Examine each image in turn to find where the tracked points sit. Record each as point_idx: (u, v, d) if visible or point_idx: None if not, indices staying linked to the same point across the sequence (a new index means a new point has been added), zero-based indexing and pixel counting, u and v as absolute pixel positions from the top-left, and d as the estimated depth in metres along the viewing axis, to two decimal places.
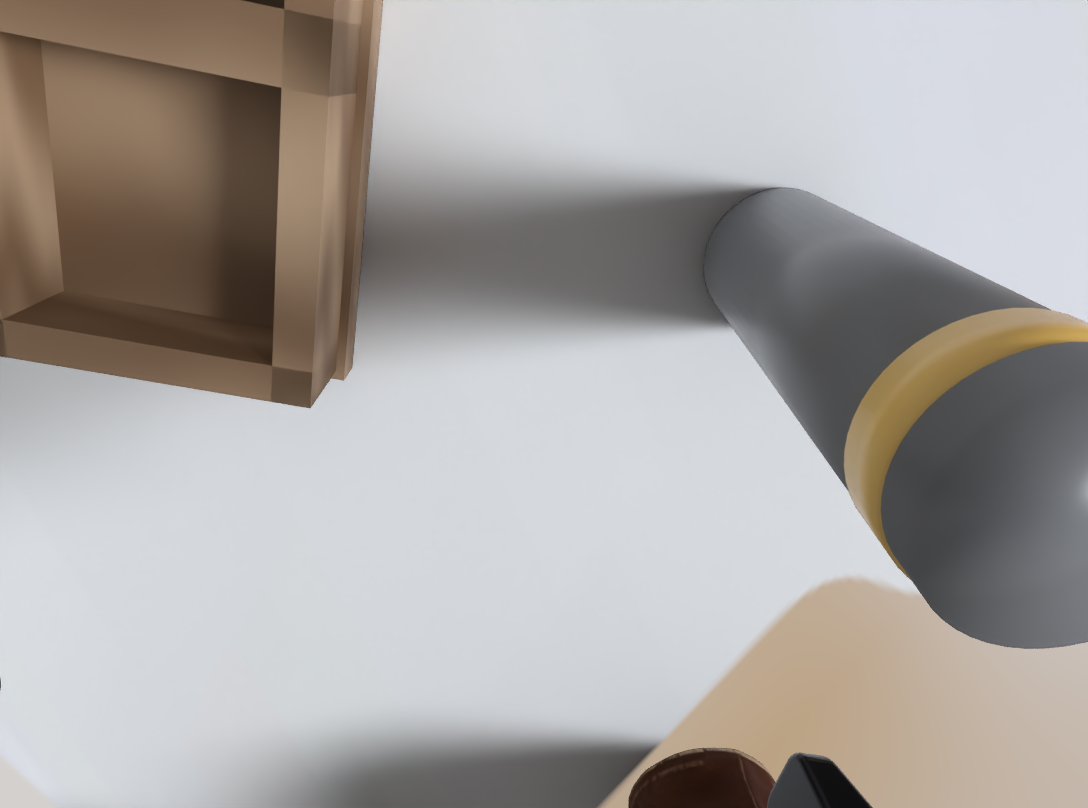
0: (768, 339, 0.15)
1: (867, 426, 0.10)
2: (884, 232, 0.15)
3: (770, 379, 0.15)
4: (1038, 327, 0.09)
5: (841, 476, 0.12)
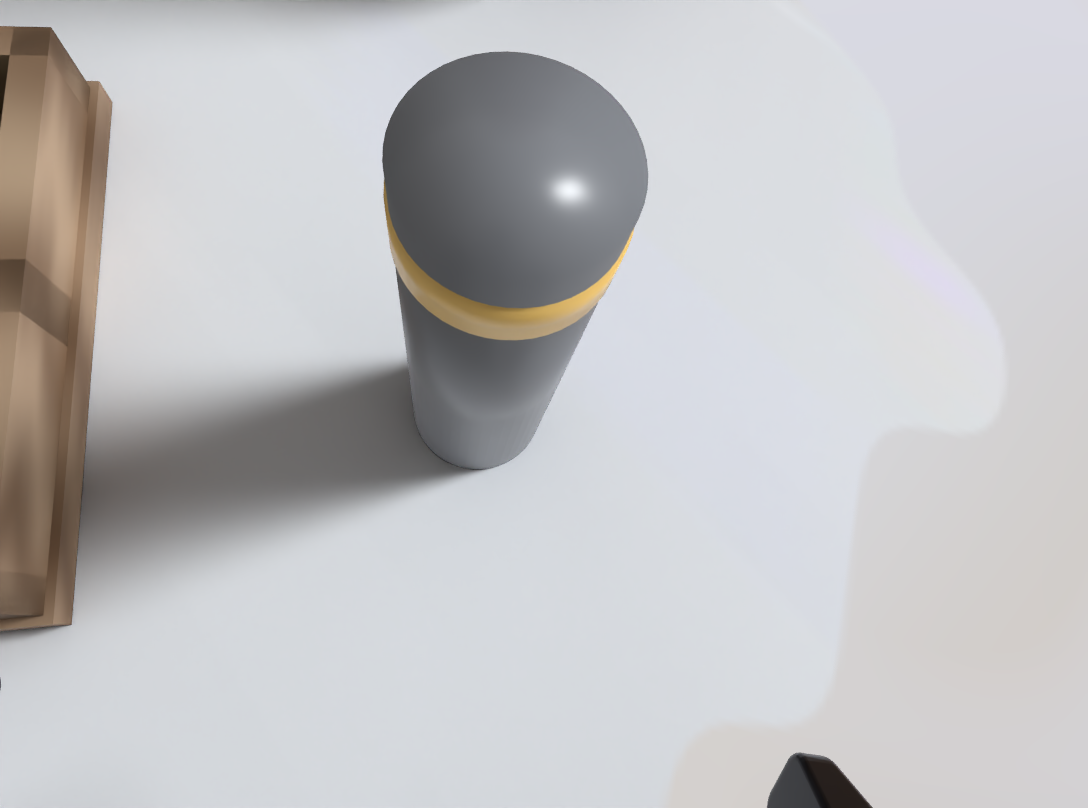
0: (406, 344, 0.17)
1: None
2: None
3: (427, 386, 0.17)
4: None
5: (419, 308, 0.13)
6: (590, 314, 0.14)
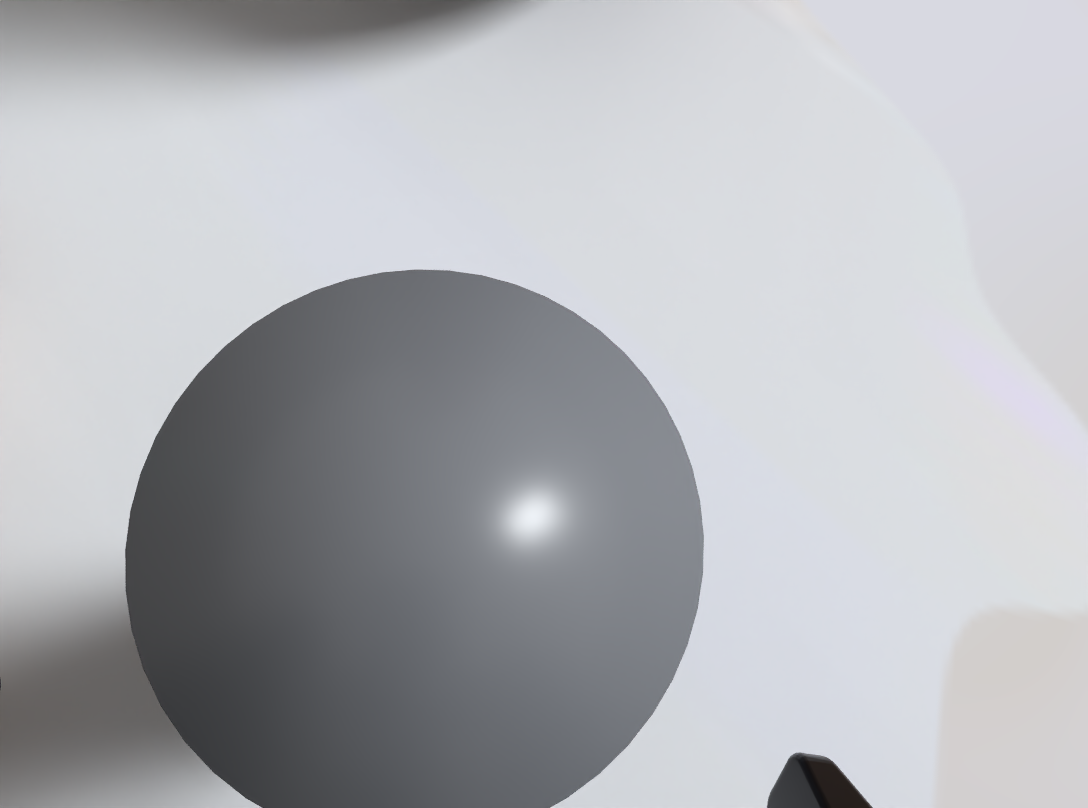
0: None
1: None
2: None
3: None
4: None
5: None
6: None
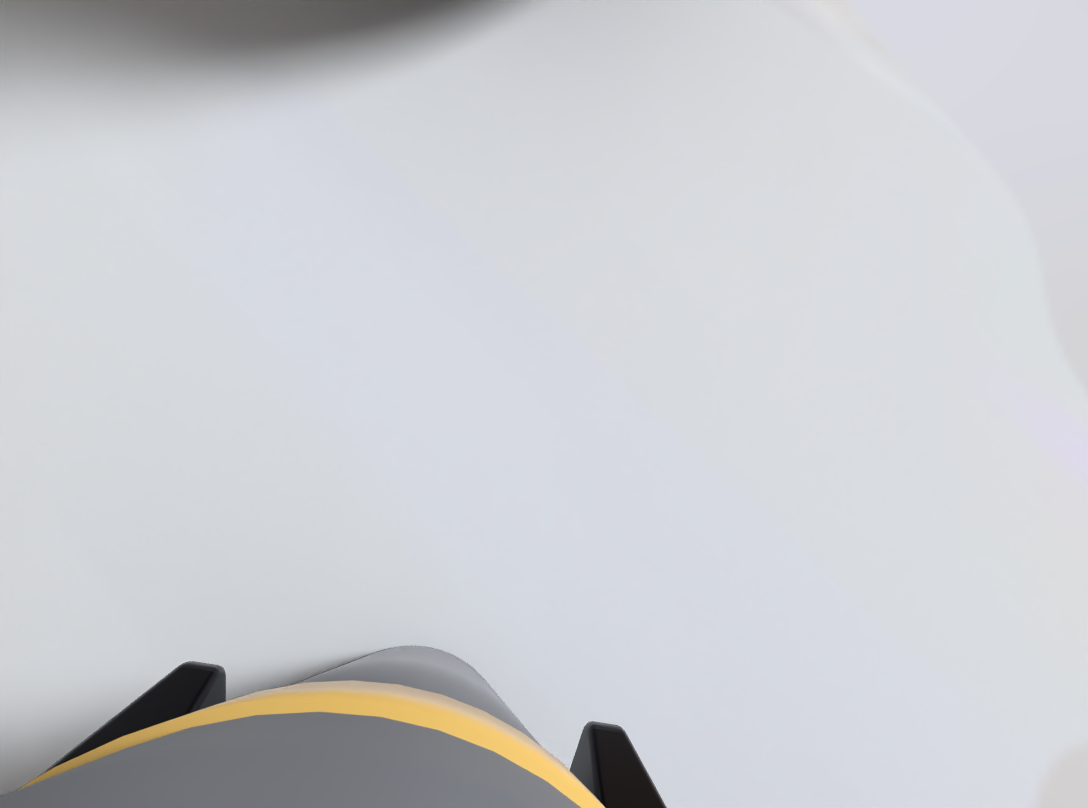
0: None
1: None
2: (374, 657, 0.09)
3: None
4: None
5: None
6: None
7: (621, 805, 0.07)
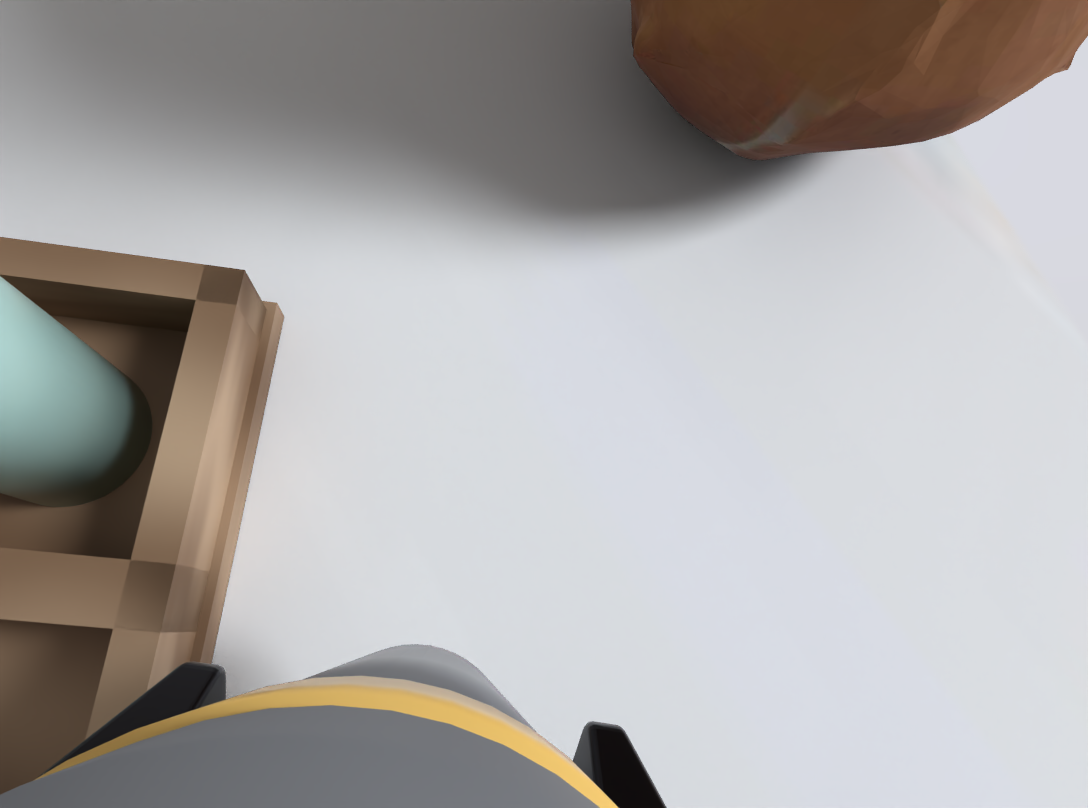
0: None
1: None
2: (378, 655, 0.09)
3: None
4: None
5: None
6: None
7: (621, 805, 0.07)
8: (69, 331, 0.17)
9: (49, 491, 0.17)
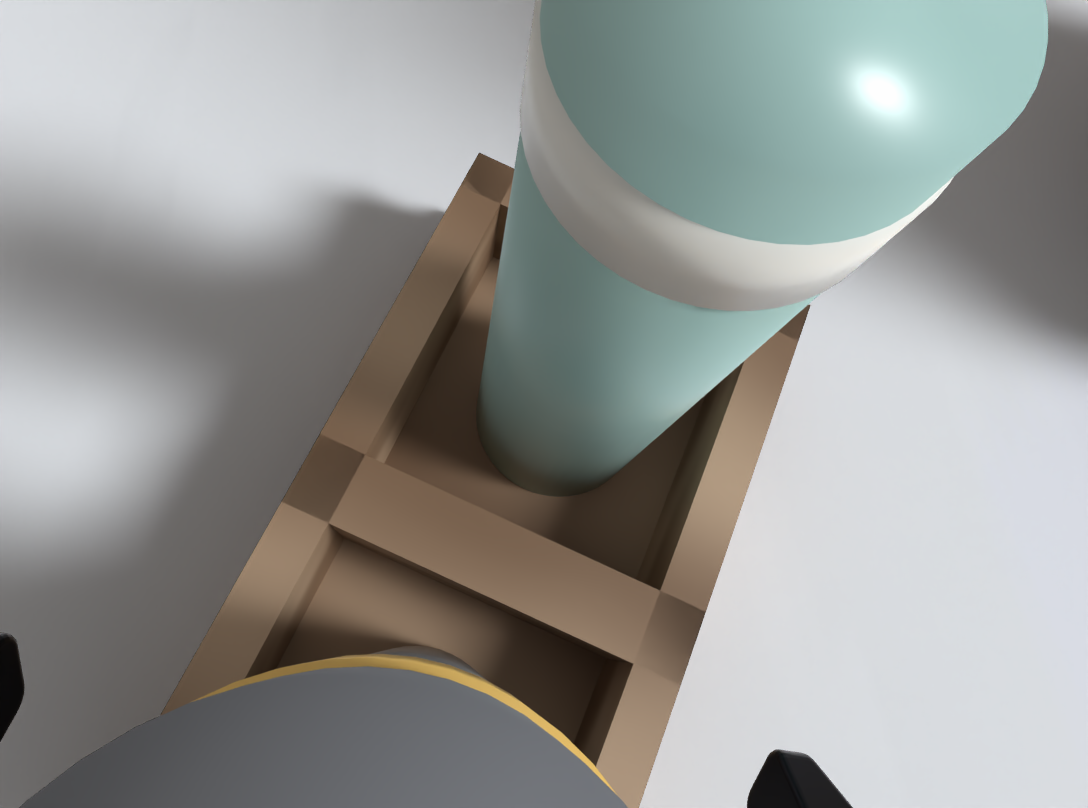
0: None
1: None
2: None
3: None
4: None
5: None
6: None
7: None
8: None
9: (569, 482, 0.16)
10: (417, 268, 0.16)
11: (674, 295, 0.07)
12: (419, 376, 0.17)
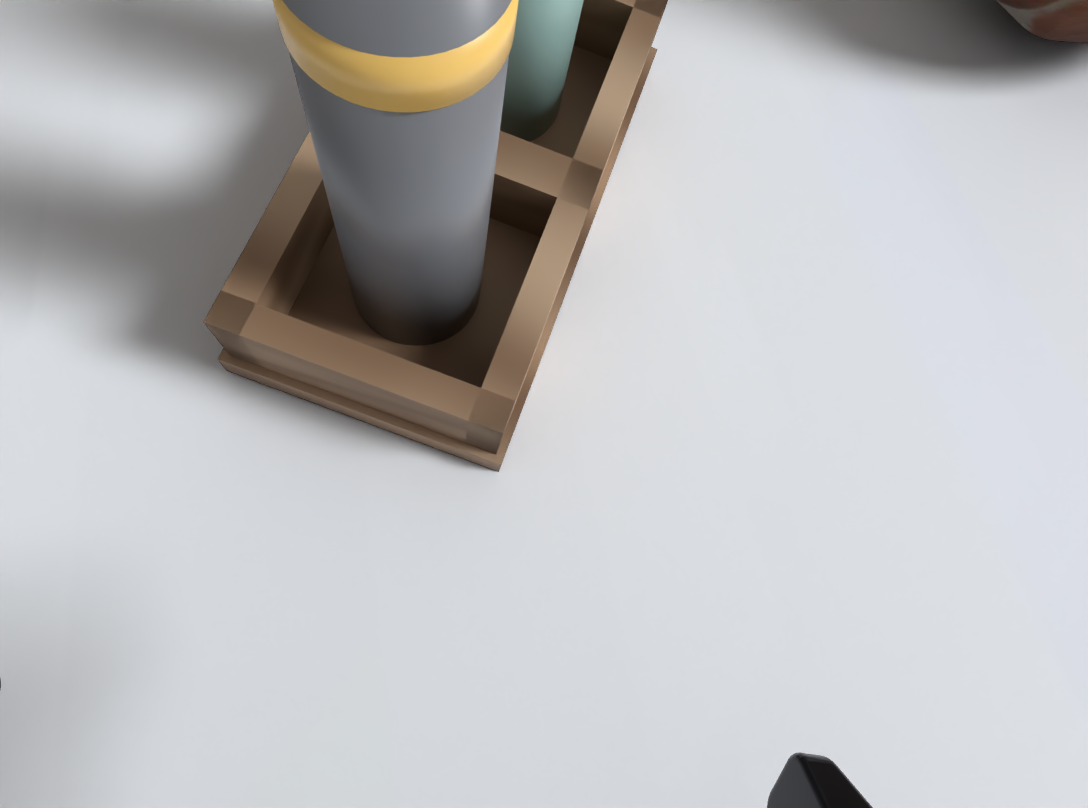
0: (323, 181, 0.16)
1: None
2: None
3: (348, 222, 0.17)
4: None
5: (316, 93, 0.13)
6: (493, 102, 0.14)
7: None
8: None
9: (511, 109, 0.23)
10: None
11: None
12: None
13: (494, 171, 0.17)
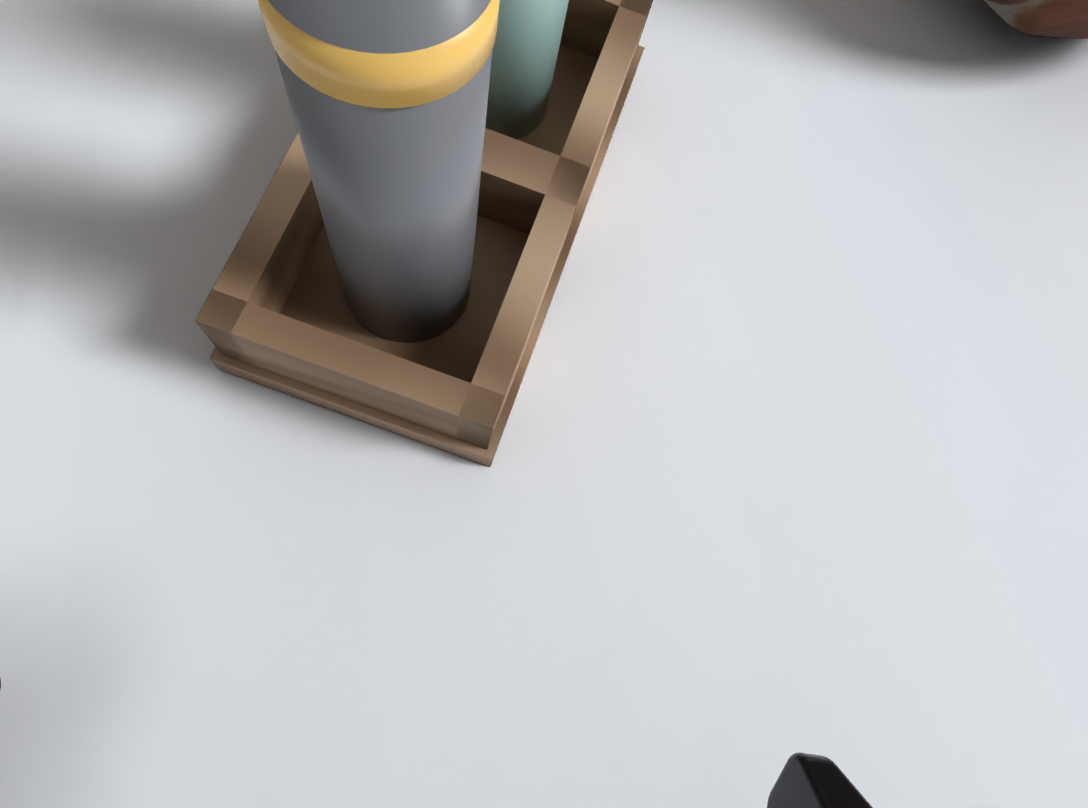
0: (311, 178, 0.17)
1: None
2: None
3: (337, 219, 0.17)
4: None
5: (301, 90, 0.13)
6: (477, 98, 0.14)
7: None
8: None
9: (499, 108, 0.24)
10: None
11: None
12: None
13: (480, 167, 0.17)
